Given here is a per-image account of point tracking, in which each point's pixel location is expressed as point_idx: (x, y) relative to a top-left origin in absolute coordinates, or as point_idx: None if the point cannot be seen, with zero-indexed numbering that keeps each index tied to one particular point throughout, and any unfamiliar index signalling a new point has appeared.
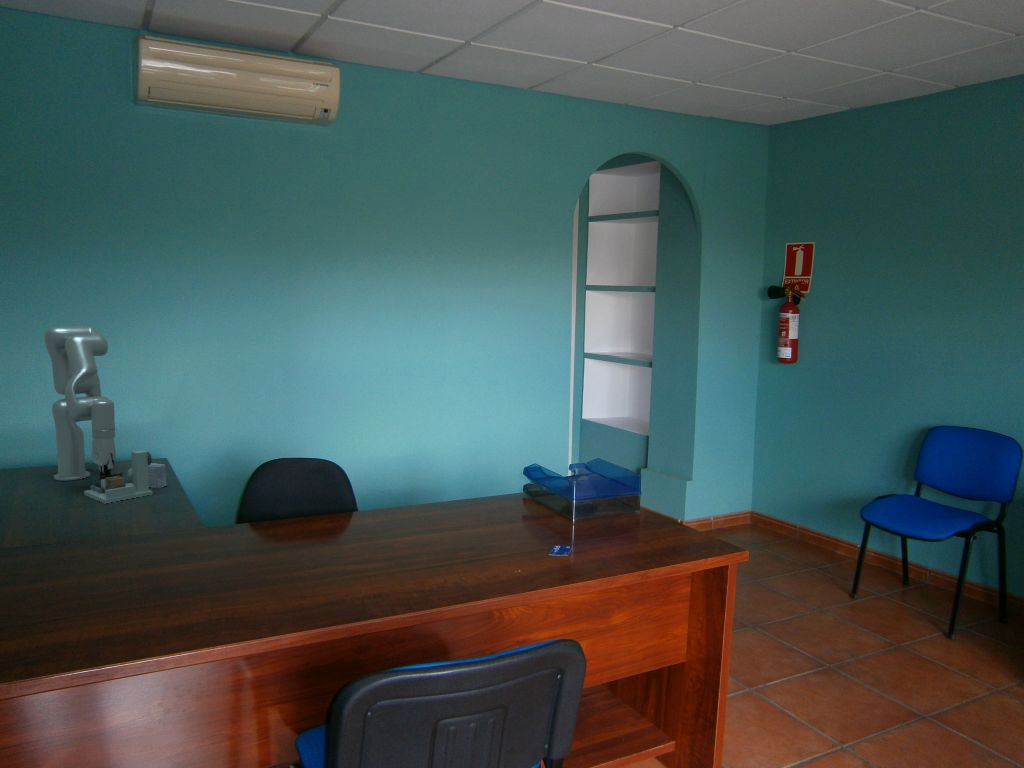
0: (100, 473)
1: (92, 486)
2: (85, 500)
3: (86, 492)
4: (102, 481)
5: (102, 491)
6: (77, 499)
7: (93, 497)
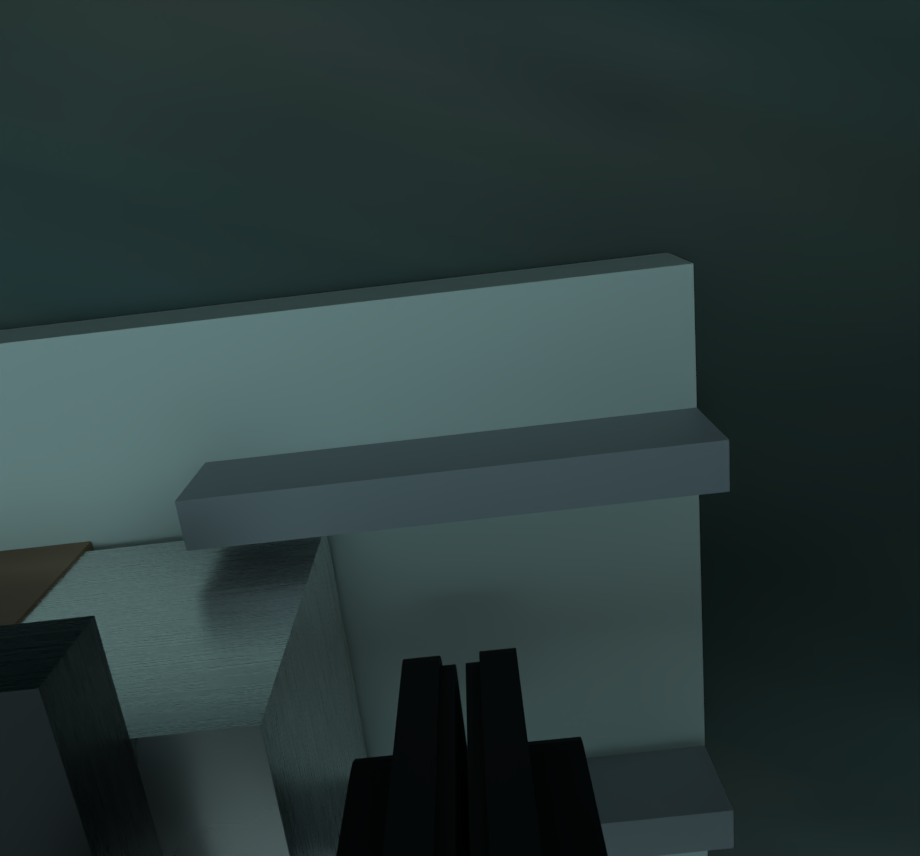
0: (493, 854)
1: (609, 450)
2: (167, 141)
3: (553, 276)
4: (155, 680)
5: None
6: (355, 19)
7: (183, 313)
